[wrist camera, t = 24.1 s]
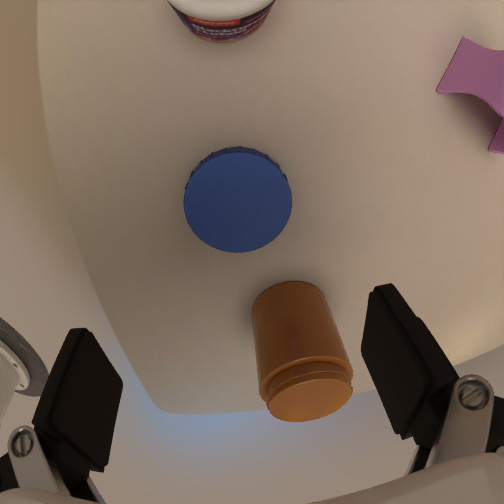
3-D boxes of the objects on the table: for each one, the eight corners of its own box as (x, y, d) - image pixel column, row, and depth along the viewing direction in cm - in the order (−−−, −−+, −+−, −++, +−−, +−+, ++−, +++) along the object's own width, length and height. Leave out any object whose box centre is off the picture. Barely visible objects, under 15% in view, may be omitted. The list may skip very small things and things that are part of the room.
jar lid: (308, 191, 20) (314, 199, 19) (243, 258, 23) (244, 270, 21) (230, 124, 18) (230, 128, 16) (166, 204, 20) (161, 213, 19)
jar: (258, 343, 28) (268, 431, 20) (244, 289, 24) (252, 386, 16) (327, 329, 27) (354, 412, 19) (325, 273, 24) (363, 363, 16)
